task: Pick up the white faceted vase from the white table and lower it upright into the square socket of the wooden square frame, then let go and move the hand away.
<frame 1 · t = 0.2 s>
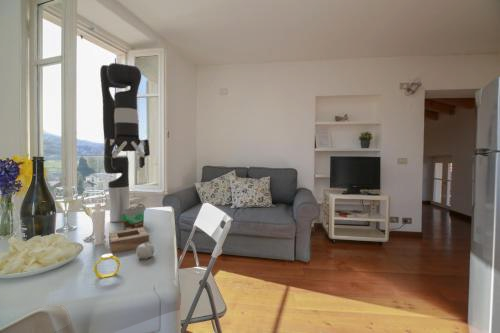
hand: (128, 168, 87), 28 cm above the table, tool pointing down, fingers open, 8 cm apart
white faceted vase: (99, 243, 92), on the table
garlic: (145, 258, 78), on the table
food container: (137, 228, 110), on the table
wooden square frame: (128, 244, 90), on the table
watch: (107, 276, 67), on the table
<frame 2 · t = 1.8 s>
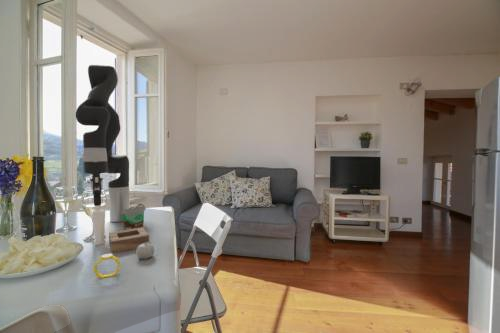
hand: (97, 203, 91), 15 cm above the table, tool pointing down, fingers open, 8 cm apart
nothing on the table moved.
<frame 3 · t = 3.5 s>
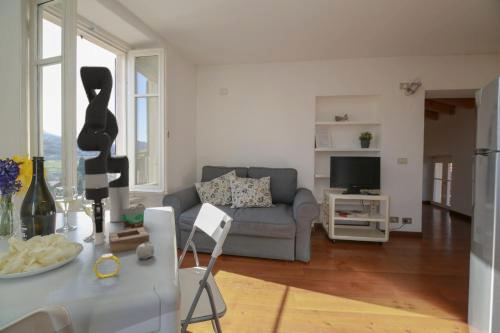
hand: (99, 230, 92), 5 cm above the table, tool pointing down, fingers closed on white faceted vase, 4 cm apart
white faceted vase: (99, 243, 92), on the table, touching gripper
everything else where it was.
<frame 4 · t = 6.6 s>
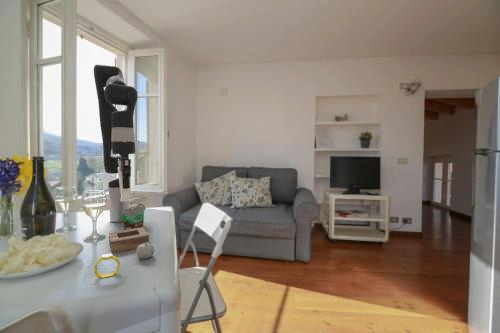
hand: (125, 187, 89), 21 cm above the table, tool pointing down, fingers closed on white faceted vase, 4 cm apart
white faceted vase: (126, 201, 89), point 16 cm above the table, touching gripper
everything else where it was.
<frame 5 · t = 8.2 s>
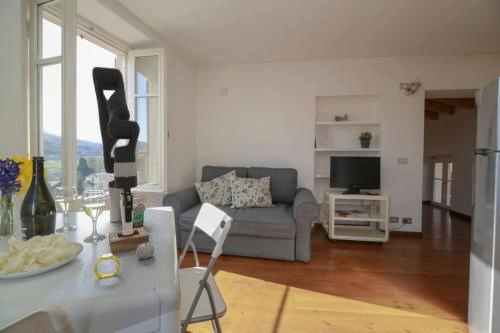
hand: (127, 220, 90), 9 cm above the table, tool pointing down, fingers closed on white faceted vase, 4 cm apart
white faceted vase: (128, 234, 90), point 4 cm above the table, touching gripper
everything else where it was.
when the fingers open (6 cm above the table, at t = 9.5 s): white faceted vase drops 1 cm, resting in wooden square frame.
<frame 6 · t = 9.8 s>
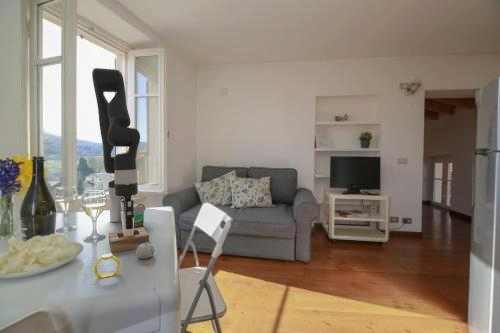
hand: (128, 226, 90), 7 cm above the table, tool pointing down, fingers open, 7 cm apart
white faceted vase: (129, 244, 90), resting in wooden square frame
everything else where it was.
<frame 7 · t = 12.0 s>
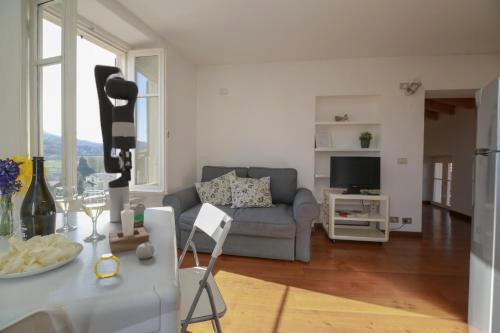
hand: (126, 180, 89), 24 cm above the table, tool pointing down, fingers open, 8 cm apart
nothing on the table moved.
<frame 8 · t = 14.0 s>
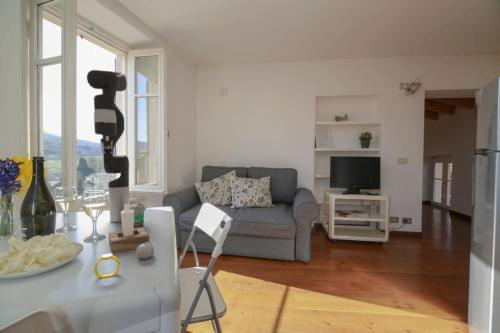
hand: (107, 163, 97), 30 cm above the table, tool pointing down, fingers open, 8 cm apart
nothing on the table moved.
at the end: white faceted vase 0.0 cm off-centre on the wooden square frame, point 0.0 cm above the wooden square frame's base; white faceted vase tilted 0°; the gripper is holding nothing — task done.
